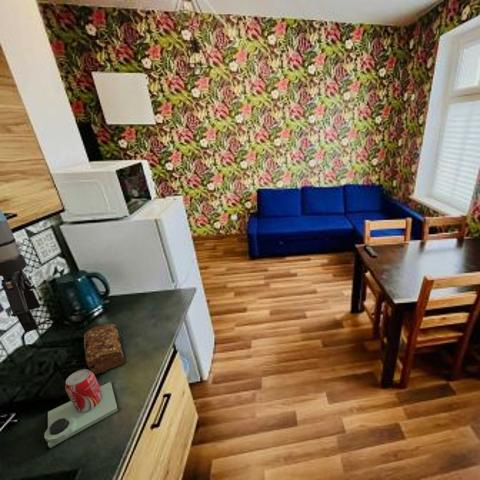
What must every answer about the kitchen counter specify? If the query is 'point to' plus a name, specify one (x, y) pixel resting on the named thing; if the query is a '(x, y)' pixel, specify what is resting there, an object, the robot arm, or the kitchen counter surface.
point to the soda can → (83, 390)
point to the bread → (103, 348)
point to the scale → (80, 416)
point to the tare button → (59, 426)
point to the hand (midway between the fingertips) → (33, 318)
